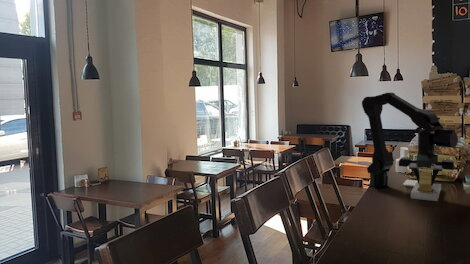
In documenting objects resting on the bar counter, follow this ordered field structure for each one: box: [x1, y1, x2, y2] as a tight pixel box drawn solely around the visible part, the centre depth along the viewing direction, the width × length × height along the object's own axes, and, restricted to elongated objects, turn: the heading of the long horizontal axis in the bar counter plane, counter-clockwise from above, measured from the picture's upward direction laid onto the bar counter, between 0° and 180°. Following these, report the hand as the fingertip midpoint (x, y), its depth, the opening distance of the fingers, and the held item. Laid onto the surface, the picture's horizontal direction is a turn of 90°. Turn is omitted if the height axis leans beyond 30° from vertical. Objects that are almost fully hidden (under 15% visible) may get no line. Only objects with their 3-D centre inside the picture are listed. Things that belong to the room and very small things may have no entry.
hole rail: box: [410, 182, 442, 202], centre depth 147 cm, size 18×9×2 cm, turn 147°
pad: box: [402, 179, 418, 187], centre depth 162 cm, size 10×10×1 cm
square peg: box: [419, 169, 432, 192], centre depth 143 cm, size 4×4×9 cm
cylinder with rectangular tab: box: [395, 146, 408, 174], centre depth 188 cm, size 9×9×12 cm
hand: (425, 185), depth 143 cm, fingers closed on square peg, 4 cm apart
